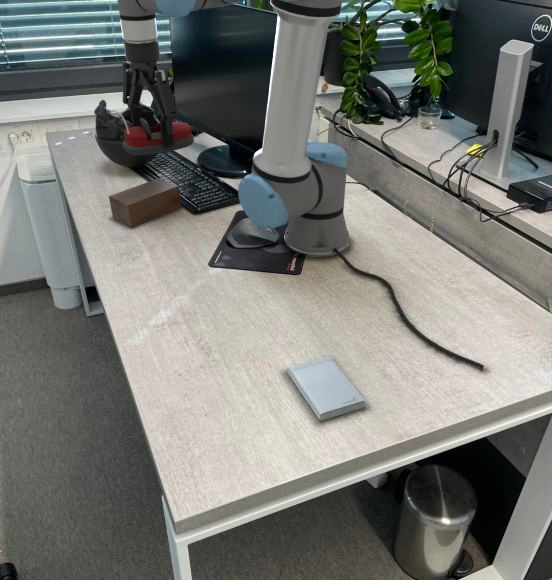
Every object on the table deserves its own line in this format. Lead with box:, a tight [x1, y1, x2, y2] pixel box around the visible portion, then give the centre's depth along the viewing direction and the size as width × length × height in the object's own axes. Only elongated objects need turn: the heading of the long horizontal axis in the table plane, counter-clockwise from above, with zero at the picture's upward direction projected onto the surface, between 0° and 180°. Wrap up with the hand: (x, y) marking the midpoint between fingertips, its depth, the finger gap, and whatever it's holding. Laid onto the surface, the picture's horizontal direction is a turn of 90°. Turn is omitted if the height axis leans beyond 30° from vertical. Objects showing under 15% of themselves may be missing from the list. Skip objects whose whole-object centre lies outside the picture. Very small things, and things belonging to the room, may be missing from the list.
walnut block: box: [108, 177, 182, 228], centre depth 149 cm, size 8×16×6 cm, turn 137°
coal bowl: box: [94, 99, 160, 168], centre depth 171 cm, size 20×20×19 cm
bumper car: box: [107, 108, 195, 155], centre depth 138 cm, size 10×20×10 cm, turn 119°
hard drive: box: [287, 356, 366, 421], centre depth 96 cm, size 2×8×12 cm
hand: (153, 141), depth 140 cm, fingers closed on bumper car, 11 cm apart
